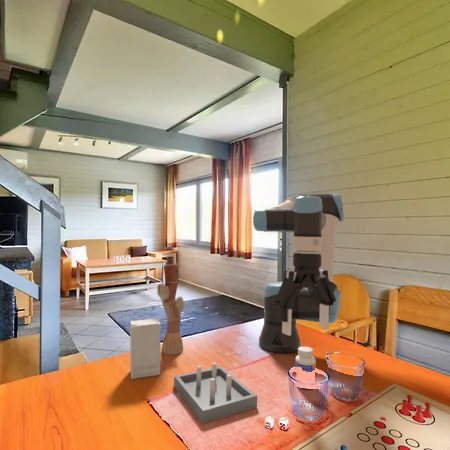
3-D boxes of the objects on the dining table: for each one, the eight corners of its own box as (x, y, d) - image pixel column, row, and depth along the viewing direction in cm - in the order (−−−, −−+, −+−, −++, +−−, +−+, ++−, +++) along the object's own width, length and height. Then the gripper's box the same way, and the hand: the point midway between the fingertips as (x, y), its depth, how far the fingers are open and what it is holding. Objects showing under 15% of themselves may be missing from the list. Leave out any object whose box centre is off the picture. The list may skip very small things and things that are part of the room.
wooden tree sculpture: (180, 345, 111) (182, 262, 112) (188, 352, 105) (190, 264, 106) (151, 350, 106) (154, 263, 107) (157, 357, 100) (160, 264, 101)
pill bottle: (316, 391, 80) (317, 353, 81) (295, 389, 81) (295, 351, 82) (314, 381, 86) (315, 346, 86) (294, 379, 87) (295, 344, 87)
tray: (173, 386, 81) (174, 362, 81) (220, 375, 88) (221, 353, 88) (202, 423, 65) (203, 394, 66) (257, 407, 72) (257, 380, 72)
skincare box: (157, 367, 93) (159, 317, 93) (160, 376, 87) (162, 323, 87) (128, 371, 90) (130, 319, 90) (129, 380, 84) (131, 325, 85)
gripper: (280, 253, 75) (278, 341, 74) (349, 253, 87) (348, 329, 86) (262, 251, 82) (260, 332, 81) (328, 252, 94) (327, 322, 93)
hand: (305, 331), depth 84 cm, fingers open, 13 cm apart
